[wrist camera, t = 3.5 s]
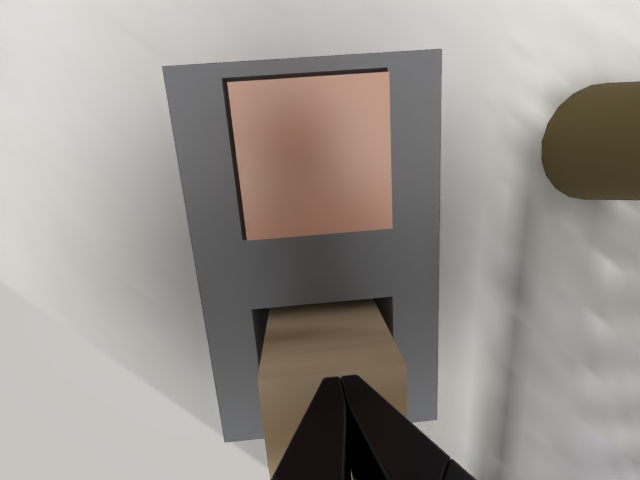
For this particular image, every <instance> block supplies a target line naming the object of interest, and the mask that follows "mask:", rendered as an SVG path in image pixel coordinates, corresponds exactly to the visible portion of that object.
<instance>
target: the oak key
mask: <svg viewBox="0 0 640 480" xmlns="http://www.w3.org/2000/svg"><path fill="white" fill-rule="evenodd" d="M346 375H358V376H360V377H361V378H362V379H363V380H364V381H365V382H366V383H368V384H369V385H370V386H371V387H372V388H373V389H374V390H375V391H377V392H378V393H379V394H380V395H381V396H382V397H383V398H384V399H386V400H387V401H388V402H389V403H390V404H391V405H392V406H393V407H395V408H396V409H397V410H398V411H399V412H400V413H401V414H402V415H404V416H405V417H406V418H407V365H406V363H405V361H404V359H403V357H402V355H401V353H400V351H399V349H398V347H397V345H396V343H395V341H394V339H393V337H392V335H391V333H390V331H389V329H388V327H387V325H386V323H385V321H384V319H383V317H382V315H381V313H380V311H379V309H378V307H377V305H376V303H375V301H374V300H373V298H371V299H360V300H349V301H338V302H328V303H317V304H306V305H295V306H284V307H273V308H269V314H268V320H267V326H266V332H265V337H264V343H263V349H262V355H261V361H260V366H259V372H258V378H257V382H258V390H259V397H260V405H261V413H262V420H263V428H264V435H265V443H266V450H267V458H268V466H269V473H270V480H271V479H272V476H273V474H274V472H275V470H276V468H277V466H278V464H279V462H280V460H281V458H282V456H283V455H284V453H285V451H286V449H287V447H288V445H289V443H290V441H291V439H292V437H293V435H294V433H295V431H296V430H297V428H298V426H299V424H300V422H301V420H302V418H303V416H304V414H305V412H306V410H307V408H308V406H309V404H310V403H311V401H312V399H313V397H314V395H315V393H316V391H317V389H318V387H319V385H320V383H321V381H322V380H323V378H325V377H336V376H338V377H340V379H341V377H342V376H346ZM351 477H352V473H351ZM352 480H353V479H352Z"/></svg>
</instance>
